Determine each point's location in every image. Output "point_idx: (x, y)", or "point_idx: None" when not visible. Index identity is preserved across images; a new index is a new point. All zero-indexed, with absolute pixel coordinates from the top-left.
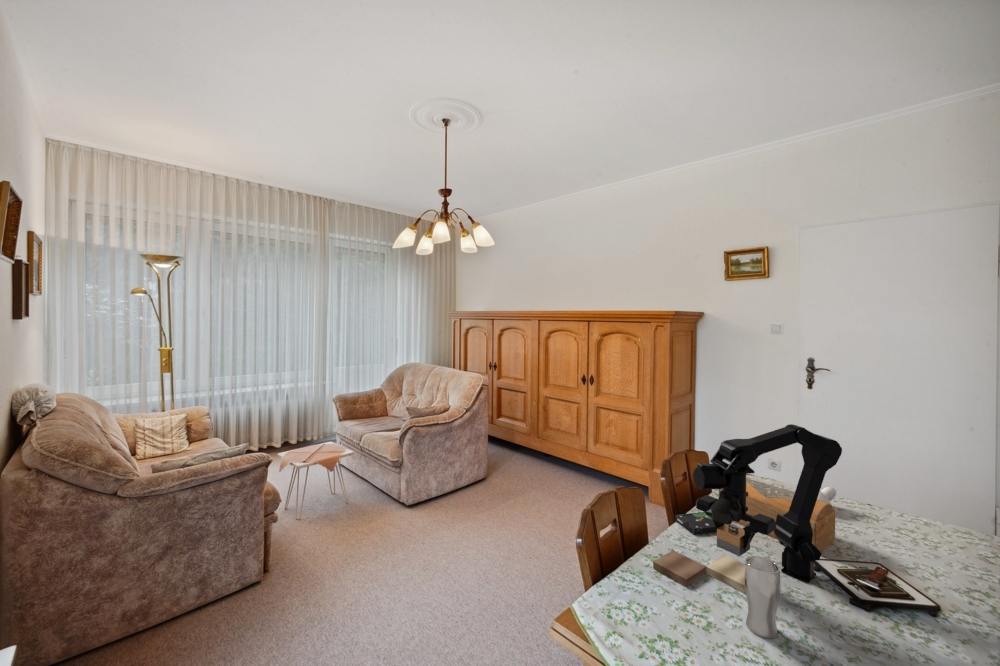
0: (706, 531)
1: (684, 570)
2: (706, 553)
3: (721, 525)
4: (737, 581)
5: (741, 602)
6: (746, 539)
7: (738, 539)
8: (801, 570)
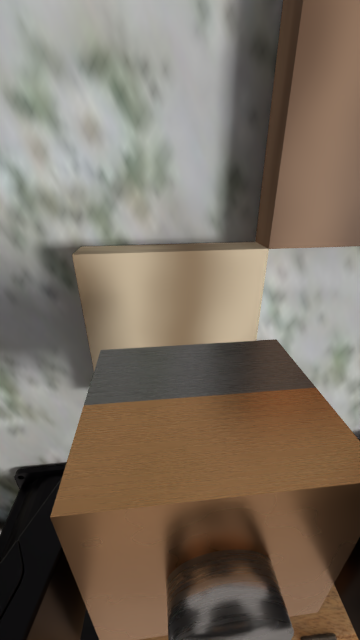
0: None
1: (349, 83)
2: (304, 371)
3: (352, 552)
4: (110, 257)
5: (39, 154)
6: (41, 537)
7: (78, 480)
8: (28, 502)
